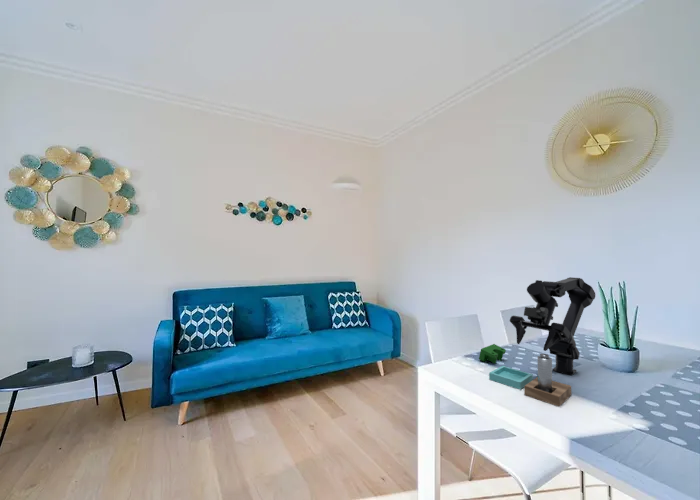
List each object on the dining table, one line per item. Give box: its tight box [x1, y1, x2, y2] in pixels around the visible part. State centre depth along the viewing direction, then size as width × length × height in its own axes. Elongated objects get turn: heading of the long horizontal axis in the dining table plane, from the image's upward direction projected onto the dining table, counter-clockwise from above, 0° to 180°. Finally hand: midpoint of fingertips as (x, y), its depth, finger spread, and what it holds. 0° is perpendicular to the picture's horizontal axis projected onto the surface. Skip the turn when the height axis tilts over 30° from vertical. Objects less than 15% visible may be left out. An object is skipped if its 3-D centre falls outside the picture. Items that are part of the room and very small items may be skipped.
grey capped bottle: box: [537, 353, 553, 393], centre depth 99 cm, size 4×4×14 cm
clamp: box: [478, 343, 507, 364], centre depth 133 cm, size 12×6×9 cm, turn 120°
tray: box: [488, 365, 534, 391], centre depth 112 cm, size 11×11×2 cm
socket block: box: [523, 376, 572, 407], centre depth 101 cm, size 12×10×3 cm
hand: (530, 346), depth 107 cm, fingers open, 9 cm apart
